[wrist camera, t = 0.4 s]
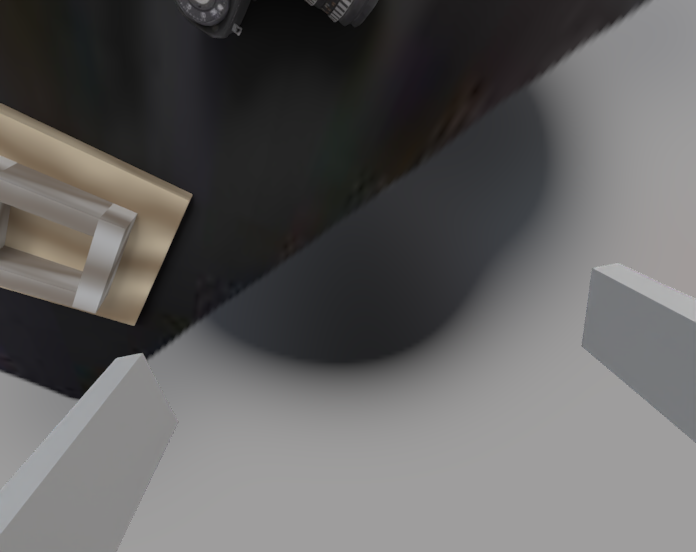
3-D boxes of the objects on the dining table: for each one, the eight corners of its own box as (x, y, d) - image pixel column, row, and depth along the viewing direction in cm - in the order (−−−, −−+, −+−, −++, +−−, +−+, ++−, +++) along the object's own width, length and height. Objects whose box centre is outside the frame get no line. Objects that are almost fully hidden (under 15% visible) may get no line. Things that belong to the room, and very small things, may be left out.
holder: (-56, 76, 25) (-113, 85, 21) (192, 194, 33) (181, 215, 29) (-64, 255, 33) (-107, 284, 29) (138, 316, 41) (124, 345, 37)
